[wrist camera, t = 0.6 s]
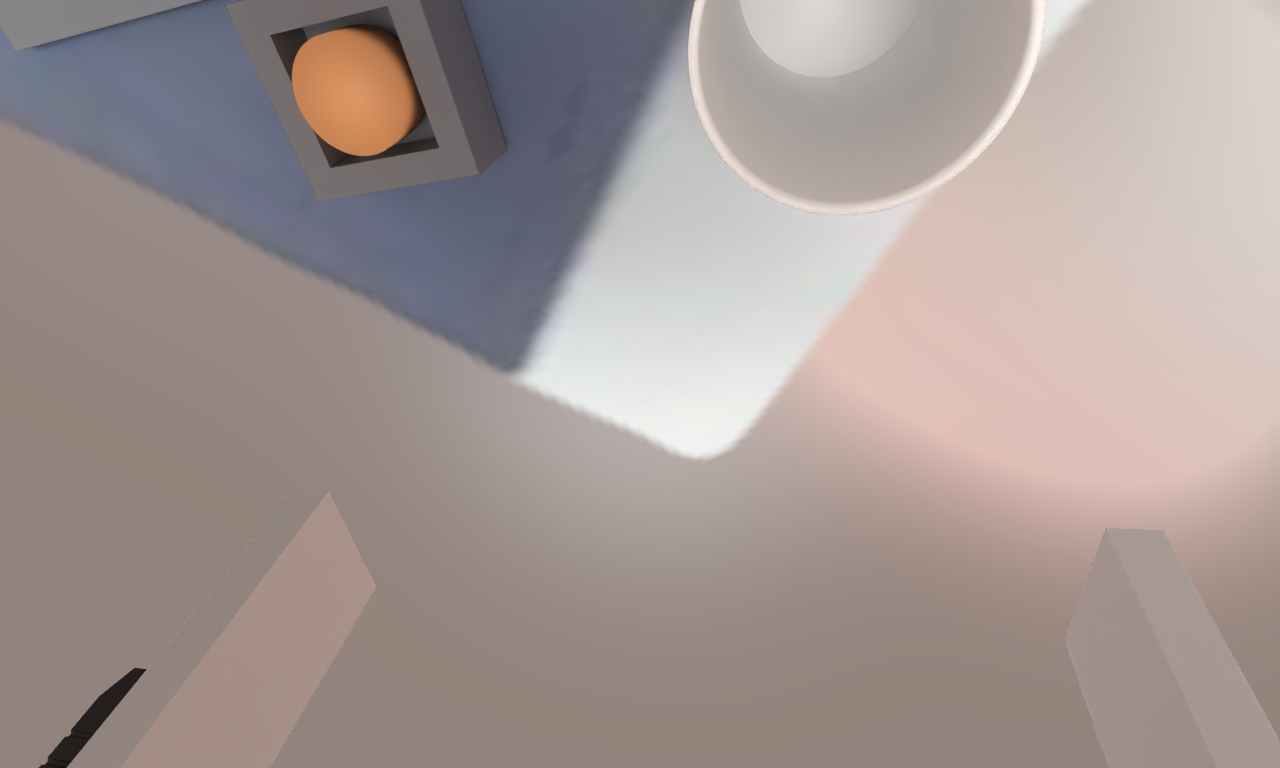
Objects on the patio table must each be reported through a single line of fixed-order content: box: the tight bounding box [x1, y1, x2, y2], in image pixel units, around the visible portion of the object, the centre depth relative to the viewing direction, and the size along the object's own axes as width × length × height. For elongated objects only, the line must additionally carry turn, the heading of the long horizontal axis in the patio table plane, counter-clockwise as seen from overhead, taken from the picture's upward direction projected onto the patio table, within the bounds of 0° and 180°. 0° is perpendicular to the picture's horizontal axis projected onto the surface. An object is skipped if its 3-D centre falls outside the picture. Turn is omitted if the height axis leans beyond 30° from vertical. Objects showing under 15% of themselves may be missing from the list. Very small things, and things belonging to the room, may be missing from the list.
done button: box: [292, 24, 425, 156], centre depth 33 cm, size 5×5×2 cm
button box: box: [225, 0, 507, 202], centre depth 34 cm, size 9×9×4 cm
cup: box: [688, 0, 1046, 215], centre depth 23 cm, size 8×8×16 cm
